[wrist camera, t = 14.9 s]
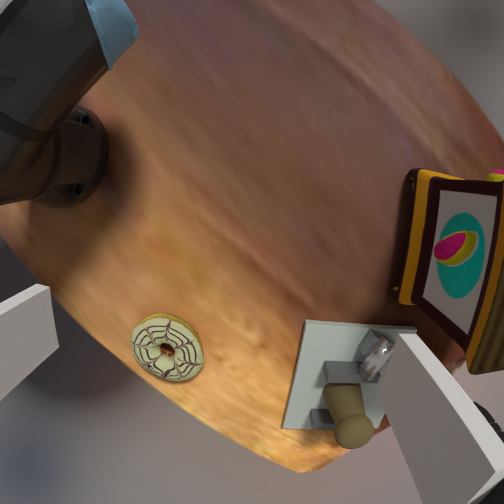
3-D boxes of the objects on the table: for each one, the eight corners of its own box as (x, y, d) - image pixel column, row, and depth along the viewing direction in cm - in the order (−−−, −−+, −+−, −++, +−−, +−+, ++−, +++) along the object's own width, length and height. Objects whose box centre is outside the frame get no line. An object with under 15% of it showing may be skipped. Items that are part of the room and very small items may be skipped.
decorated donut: (166, 379, 44) (159, 393, 40) (125, 326, 42) (114, 338, 39) (219, 357, 42) (215, 372, 39) (178, 297, 41) (169, 308, 37)
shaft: (371, 368, 40) (379, 384, 36) (348, 358, 40) (355, 375, 36) (394, 335, 39) (405, 349, 35) (371, 324, 39) (381, 339, 35)
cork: (313, 394, 42) (323, 446, 31) (342, 368, 40) (359, 418, 30) (340, 410, 42) (354, 459, 32) (368, 385, 41) (388, 433, 30)
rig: (282, 423, 45) (283, 443, 40) (305, 319, 40) (309, 335, 36) (375, 423, 44) (382, 441, 40) (413, 326, 40) (427, 340, 35)
